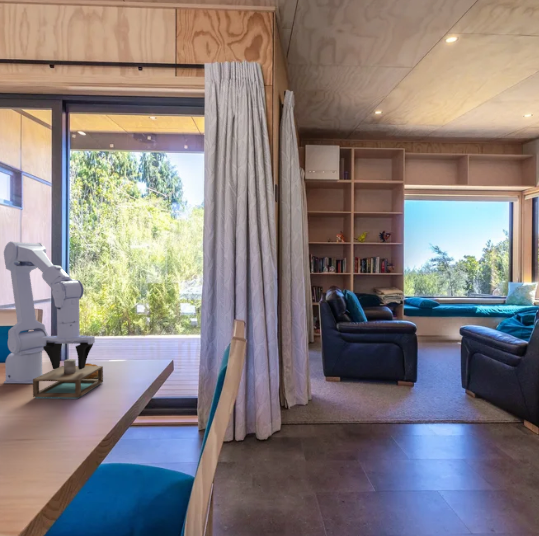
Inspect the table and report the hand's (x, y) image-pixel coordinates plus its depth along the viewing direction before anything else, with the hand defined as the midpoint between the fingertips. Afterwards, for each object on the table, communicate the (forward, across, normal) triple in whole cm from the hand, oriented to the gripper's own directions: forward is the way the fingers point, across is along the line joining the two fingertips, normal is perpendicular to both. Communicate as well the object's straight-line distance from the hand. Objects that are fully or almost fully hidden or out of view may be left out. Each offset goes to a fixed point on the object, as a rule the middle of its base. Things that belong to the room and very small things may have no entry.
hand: (68, 368), depth 106 cm
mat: (+7, 0, 0) cm, 7 cm away
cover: (+6, 0, 0) cm, 6 cm away
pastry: (+7, -2, +14) cm, 16 cm away
